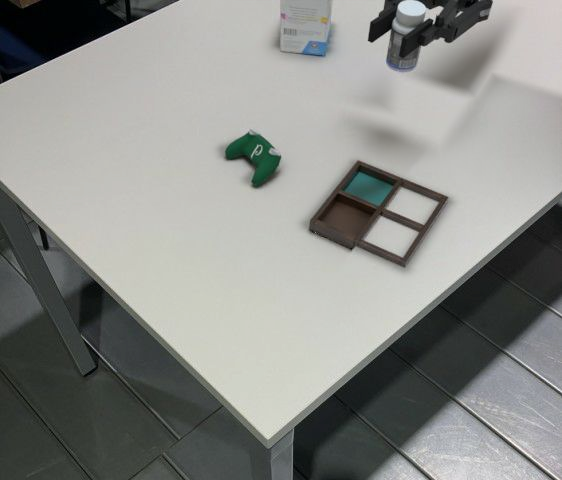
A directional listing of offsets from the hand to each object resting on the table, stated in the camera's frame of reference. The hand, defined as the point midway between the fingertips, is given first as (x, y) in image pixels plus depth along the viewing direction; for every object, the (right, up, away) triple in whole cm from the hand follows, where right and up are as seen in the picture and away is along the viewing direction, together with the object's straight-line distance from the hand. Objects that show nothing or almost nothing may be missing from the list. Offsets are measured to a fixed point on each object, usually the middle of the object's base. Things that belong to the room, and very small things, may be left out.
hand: (386, 40), depth 86 cm
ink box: (-10, +16, +31) cm, 36 cm away
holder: (0, -23, +7) cm, 24 cm away
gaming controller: (-19, -13, +13) cm, 26 cm away
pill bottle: (+3, 0, +7) cm, 8 cm away
